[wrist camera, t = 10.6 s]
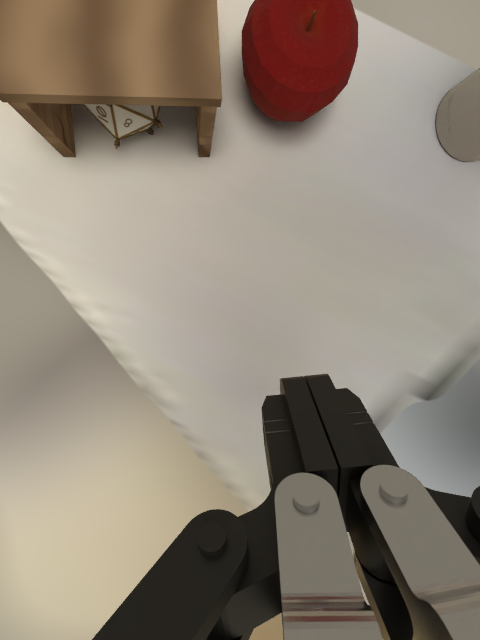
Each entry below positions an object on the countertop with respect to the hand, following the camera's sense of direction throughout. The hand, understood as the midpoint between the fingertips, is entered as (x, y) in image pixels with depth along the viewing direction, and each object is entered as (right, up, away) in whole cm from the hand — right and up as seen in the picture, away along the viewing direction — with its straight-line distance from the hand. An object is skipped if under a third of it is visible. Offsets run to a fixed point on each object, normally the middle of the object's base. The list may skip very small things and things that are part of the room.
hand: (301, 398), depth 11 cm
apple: (+2, +28, +27) cm, 39 cm away
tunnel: (-13, +26, +25) cm, 38 cm away
